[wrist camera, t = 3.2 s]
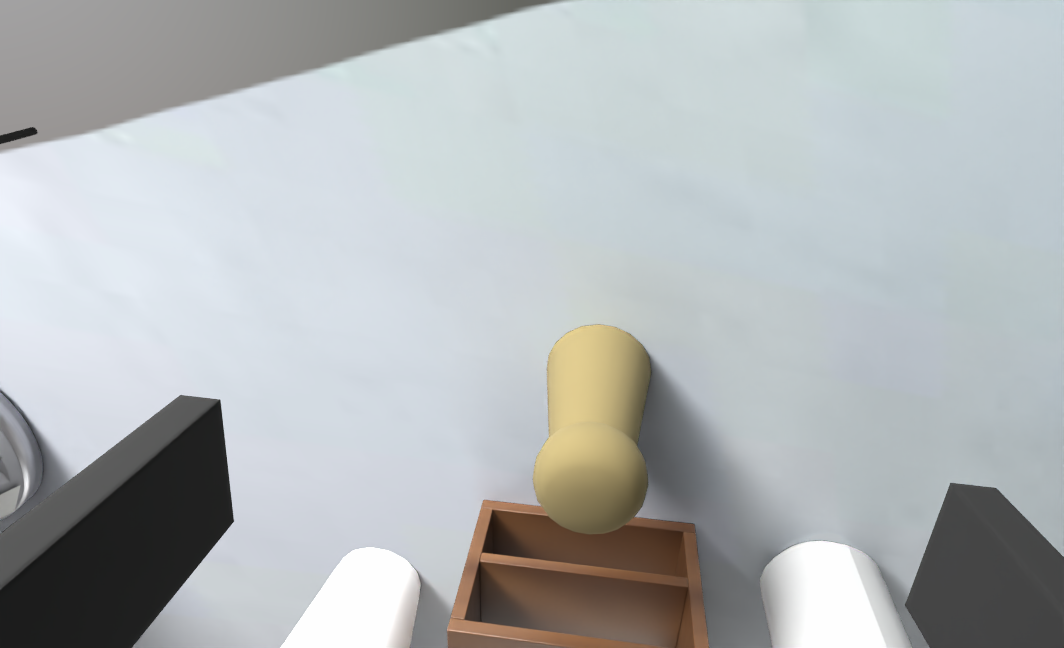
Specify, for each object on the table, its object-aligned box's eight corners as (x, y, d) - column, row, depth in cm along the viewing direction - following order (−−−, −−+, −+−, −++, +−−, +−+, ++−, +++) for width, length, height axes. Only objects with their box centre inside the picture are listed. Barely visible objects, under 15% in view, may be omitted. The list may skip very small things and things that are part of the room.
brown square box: (483, 499, 44) (446, 630, 35) (694, 523, 42) (711, 666, 33) (484, 617, 49) (453, 755, 40) (671, 642, 48) (680, 791, 39)
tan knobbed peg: (653, 325, 36) (661, 453, 26) (649, 414, 39) (656, 560, 29) (544, 323, 37) (514, 447, 27) (548, 411, 39) (522, 551, 30)
